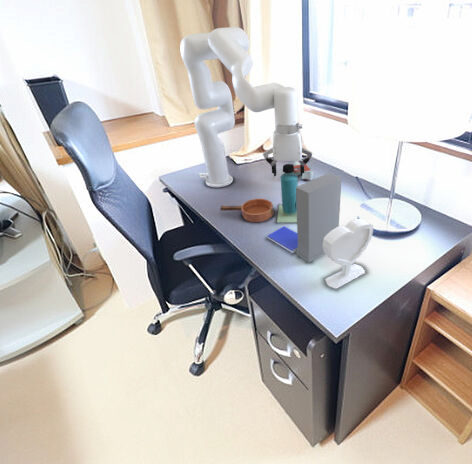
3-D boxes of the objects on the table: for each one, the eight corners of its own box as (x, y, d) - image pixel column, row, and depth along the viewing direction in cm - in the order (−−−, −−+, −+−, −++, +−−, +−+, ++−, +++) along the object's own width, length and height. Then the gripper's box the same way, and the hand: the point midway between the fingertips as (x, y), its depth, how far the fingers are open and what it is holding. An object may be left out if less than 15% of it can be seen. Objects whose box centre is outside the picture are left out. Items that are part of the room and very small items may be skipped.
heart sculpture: (330, 291, 91) (333, 241, 80) (320, 281, 94) (320, 232, 84) (369, 270, 98) (376, 221, 88) (358, 261, 101) (363, 213, 91)
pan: (240, 222, 121) (238, 214, 119) (245, 206, 131) (244, 198, 129) (271, 222, 121) (271, 214, 119) (274, 206, 131) (274, 198, 129)
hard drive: (309, 239, 109) (284, 225, 116) (292, 250, 104) (267, 235, 111) (309, 242, 110) (284, 229, 117) (292, 253, 105) (267, 239, 112)
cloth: (276, 222, 121) (276, 222, 120) (279, 205, 131) (279, 204, 131) (303, 222, 120) (303, 222, 120) (303, 205, 131) (303, 204, 131)
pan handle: (220, 210, 124) (220, 207, 124) (221, 208, 126) (221, 205, 125) (242, 210, 124) (241, 207, 124) (242, 208, 126) (242, 205, 125)
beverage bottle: (297, 218, 122) (295, 169, 111) (280, 216, 124) (277, 168, 112) (300, 209, 128) (299, 162, 116) (284, 208, 129) (281, 161, 117)
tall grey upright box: (325, 237, 112) (327, 171, 98) (338, 245, 109) (342, 177, 94) (296, 254, 105) (293, 186, 90) (308, 263, 101) (308, 193, 87)
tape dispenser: (297, 167, 166) (273, 179, 152) (297, 157, 163) (272, 168, 149) (326, 173, 157) (303, 186, 143) (326, 163, 154) (303, 175, 140)
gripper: (312, 124, 109) (311, 170, 119) (262, 124, 110) (265, 170, 120) (312, 131, 103) (312, 179, 113) (259, 131, 103) (263, 179, 113)
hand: (288, 174), depth 116 cm, fingers open, 9 cm apart
